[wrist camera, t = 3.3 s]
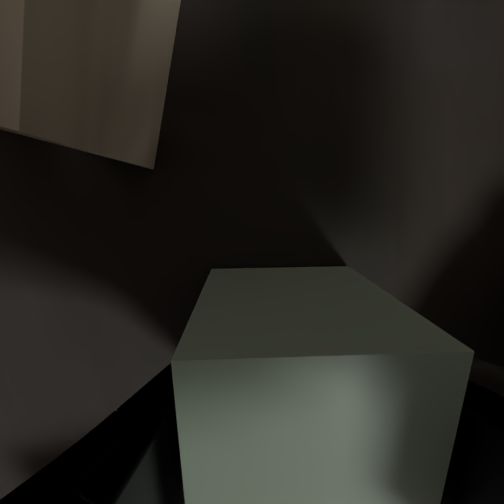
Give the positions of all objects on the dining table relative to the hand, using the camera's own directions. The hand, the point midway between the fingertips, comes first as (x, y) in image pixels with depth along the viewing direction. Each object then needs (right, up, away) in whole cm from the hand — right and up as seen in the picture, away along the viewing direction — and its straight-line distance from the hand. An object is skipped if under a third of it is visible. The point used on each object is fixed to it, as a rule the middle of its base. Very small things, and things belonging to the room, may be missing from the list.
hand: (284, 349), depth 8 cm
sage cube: (0, 0, +1) cm, 1 cm away
